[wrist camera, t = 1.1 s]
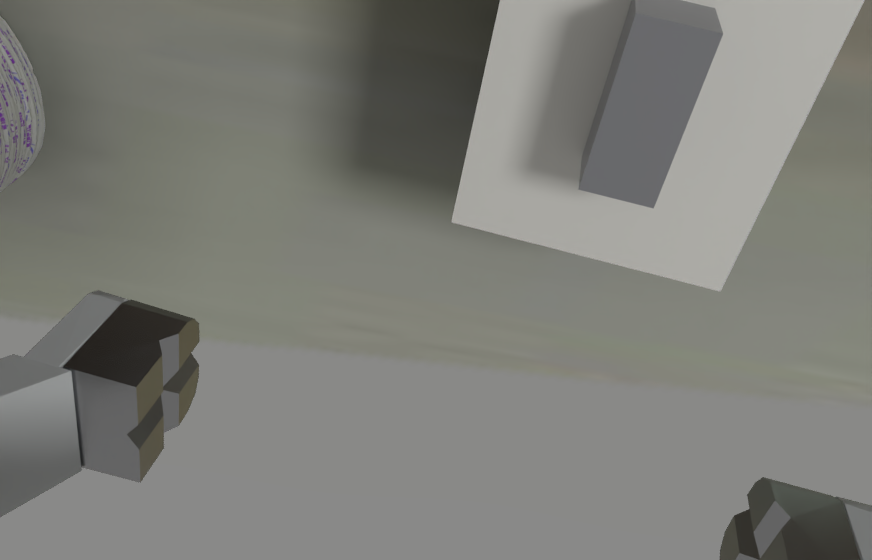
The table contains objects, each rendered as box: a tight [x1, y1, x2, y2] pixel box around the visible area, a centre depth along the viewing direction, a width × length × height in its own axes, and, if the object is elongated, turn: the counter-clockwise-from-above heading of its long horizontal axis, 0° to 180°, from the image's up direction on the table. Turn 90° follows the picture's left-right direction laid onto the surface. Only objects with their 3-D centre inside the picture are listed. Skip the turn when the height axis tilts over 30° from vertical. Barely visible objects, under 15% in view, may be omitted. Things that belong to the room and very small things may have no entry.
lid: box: [451, 0, 864, 291], centre depth 31 cm, size 17×13×5 cm
